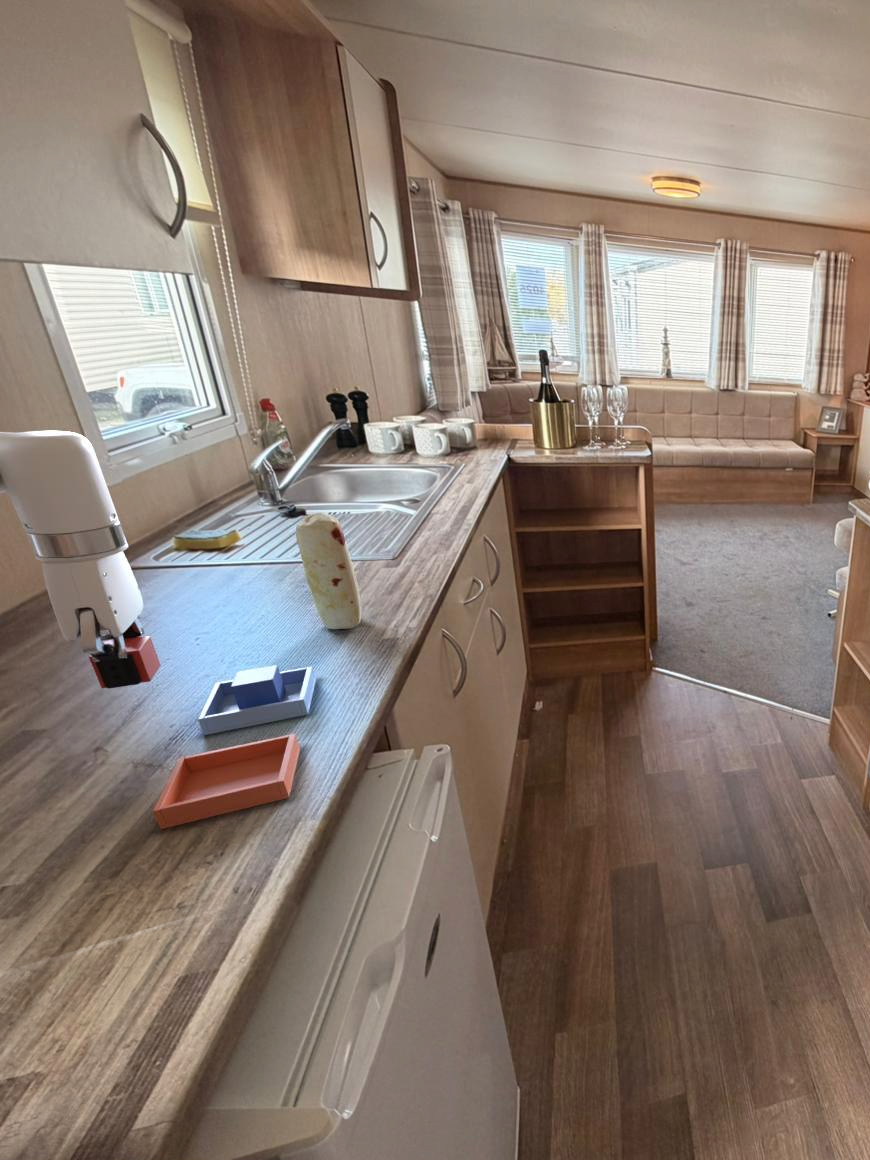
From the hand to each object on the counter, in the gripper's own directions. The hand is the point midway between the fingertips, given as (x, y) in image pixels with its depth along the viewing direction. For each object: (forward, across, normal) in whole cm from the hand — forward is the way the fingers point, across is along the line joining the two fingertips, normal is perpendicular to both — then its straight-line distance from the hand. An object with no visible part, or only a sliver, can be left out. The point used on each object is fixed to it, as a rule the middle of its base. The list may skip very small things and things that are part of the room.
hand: (131, 674), depth 82 cm
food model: (+8, -26, +20) cm, 34 cm away
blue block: (+7, 0, +12) cm, 14 cm away
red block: (0, 0, 0) cm, 0 cm away
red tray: (+8, +19, +12) cm, 24 cm away
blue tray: (+8, 0, +12) cm, 14 cm away
